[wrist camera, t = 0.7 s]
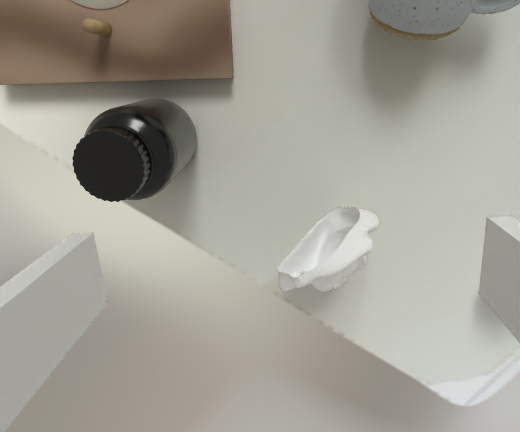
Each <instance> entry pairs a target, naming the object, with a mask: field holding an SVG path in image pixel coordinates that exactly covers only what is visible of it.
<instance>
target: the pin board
mask: <svg viewBox="0 0 520 432" xmlns="http://www.w3.org/2000/svg"><path fill="white" fill-rule="evenodd" d="M209 78H234V76H233V55H232V33H231V12H230V0H0V85H10V84H43V83H77V82H110V81H143V80H176V79H209Z"/></svg>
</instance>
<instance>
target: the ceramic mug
mask: <svg viewBox="0 0 520 432" xmlns="http://www.w3.org/2000/svg"><path fill="white" fill-rule="evenodd" d="M519 3H520V0H369V8H370V13H371V15H372V18H373V19H374V20H375V22H376V23H377V24H379V25H380V26H381V27H382V28H384V29H385V30H386V31H388V32H391V33H393V34H395V35H398V36H401V37H405V38H409V39H419V40H431V39H437V38H441V37H444V36H448V35H449V34H451V33H453V32H455V31H456V30H457V29H459V27H460V26H461V25H462V24H463V23H464V21H465V20H466V18H467V17H468V15H469V14H470V12H473V13H476V14H493V13H497V12H501V11H505V10H508V9H510V8H512V7H514V6H516V5H518V4H519Z"/></svg>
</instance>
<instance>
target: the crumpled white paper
mask: <svg viewBox="0 0 520 432" xmlns="http://www.w3.org/2000/svg"><path fill="white" fill-rule="evenodd" d="M379 224H380V222H379V220H378V218H377V216H376V215H375V214H374V213H372V212H370V211H367V210H361V209H358V208H355V207H339V208H336V209H335V210H333V211H331V212H330V213H328V214H327V215H325V216H324V217H323V218H321V219H320V220H319V221H318V222H317V223H316V224H315V225H314V226H313V227H312V228H311V229H310V230H309V231H308V233H307V234H306V235H305V236H304V237H303V238H302V239H301V241H300V242H299V243H298V244H297V245H296V246H295V248H294V249H293V250H292V251H291V252H290V253H289V254H288V256H287V257H286V258H285V259H284V260H283V261H282V262H281V264H280V265H279V266H278V268H277V271H278V273H279V285H280V289H281V290H282V291H283V292H288V291H290V290H292V289H293V288H302V287H305V286H307V285H308V284H311V285H312V286H313V287H314V288H315V289H317V290H318V291H320V292H327V291H329V290H331V289H337V288H338V287H339V286H340V285H342V284H343V283H344V282H345V281H346V279H347V277H348V274H350V273H351V272H353V271H355V270H357V269H360V268H362V267H364V266H365V265H366V263H367V256H366V253H369V252H371V249H372V247H373V242H372V240H371V238H370V237H369V235H368V233H369V232H371V231H374V230H375V229H377V228H378V226H379Z"/></svg>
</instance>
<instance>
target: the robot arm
mask: <svg viewBox="0 0 520 432" xmlns="http://www.w3.org/2000/svg"><path fill="white" fill-rule="evenodd" d="M479 294H480V296H481V297H482V298H483V299H484V300H485V302H486V303H487V304H488V305H489V306H490V308H491V309H492V310H493V311H494V312H495V314H496V315H497V316H498V317H499V318H500V320H501V321H502V322H503V323H504V324H505V326H506V327H507V328H508V329H509V330H510V332H511V333H512V334H513V335H514V336H515V338H516V339H517V340H518V341H519V342H520V221H519V220H517V219H516V218H514V217H513V216H496V217H487V220H486V229H485V239H484V248H483V258H482V267H481V277H480V286H479ZM107 303H108V301H107V296H106V292H105V287H104V283H103V277H102V272H101V268H100V263H99V258H98V253H97V249H96V244H95V239H94V234H93V233H77V234H71V235H70V236H68V237H67V238H66V239H64V240H63V241H62V242H60V243H59V244H57V245H56V246H55V247H53V248H52V249H51V250H49V251H48V252H47V253H45V254H44V255H43V256H41V257H40V258H39V259H37V260H36V261H34V262H33V263H32V264H30V265H29V266H28V267H26V268H25V269H24V270H22V271H21V272H20V273H18V274H17V275H16V276H14V277H13V278H11V279H10V280H9V281H7V282H6V283H5V284H3V285H2V286H1V287H0V432H5V430H6V429H7V428H8V427H9V425H10V424H11V423H12V422H13V420H14V419H15V418H16V417H17V415H18V414H19V413H20V411H21V410H22V409H23V408H24V407H25V405H26V404H27V403H28V401H29V400H30V399H31V398H32V397H33V395H34V394H35V393H36V391H37V390H38V389H39V388H40V387H41V385H42V384H43V383H44V382H45V380H46V379H47V378H48V377H49V375H50V374H51V373H52V372H53V370H54V369H55V368H56V367H57V365H58V364H59V363H60V361H61V360H62V359H63V358H64V357H65V355H66V354H67V353H68V351H69V350H70V349H71V348H72V347H73V345H74V344H75V343H76V341H77V340H78V339H79V338H80V337H81V335H82V334H83V333H84V332H85V330H86V329H87V328H88V327H89V325H90V324H91V323H92V322H93V320H94V319H95V318H96V317H97V315H98V314H99V313H100V312H101V310H102V309H103V308H104V307H105V305H106V304H107Z"/></svg>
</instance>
